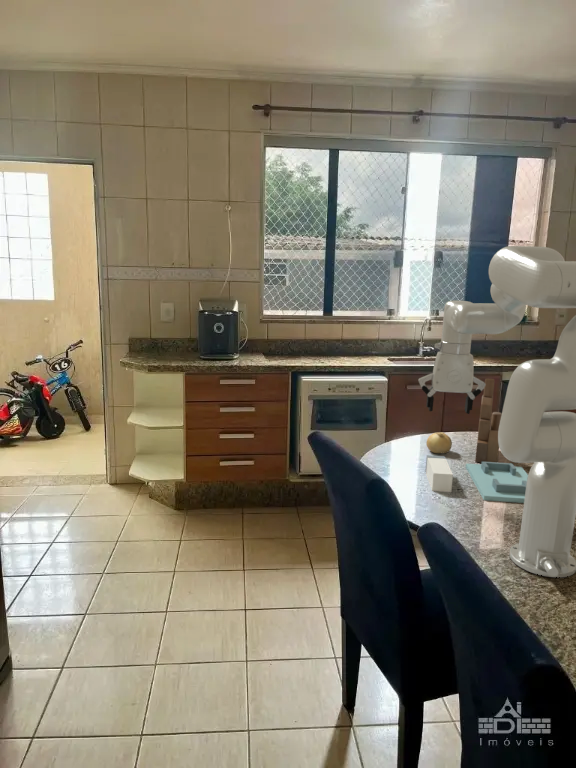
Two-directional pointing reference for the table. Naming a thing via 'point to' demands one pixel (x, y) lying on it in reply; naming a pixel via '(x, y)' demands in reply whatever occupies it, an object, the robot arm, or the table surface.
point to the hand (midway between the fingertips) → (448, 411)
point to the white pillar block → (438, 473)
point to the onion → (439, 443)
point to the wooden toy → (488, 427)
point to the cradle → (499, 481)
